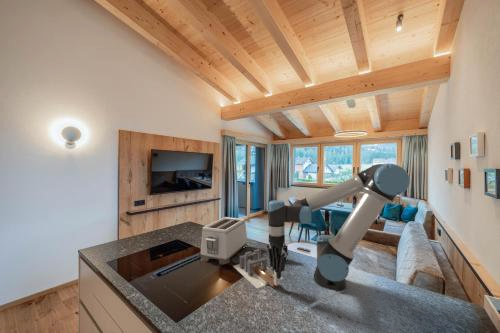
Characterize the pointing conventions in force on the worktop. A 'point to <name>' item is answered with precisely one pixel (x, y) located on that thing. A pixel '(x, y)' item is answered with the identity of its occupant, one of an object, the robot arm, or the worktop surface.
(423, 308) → the worktop surface
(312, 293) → the worktop surface
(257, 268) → the tube
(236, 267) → the board
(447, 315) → the worktop surface
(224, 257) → the toaster
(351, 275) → the worktop surface
